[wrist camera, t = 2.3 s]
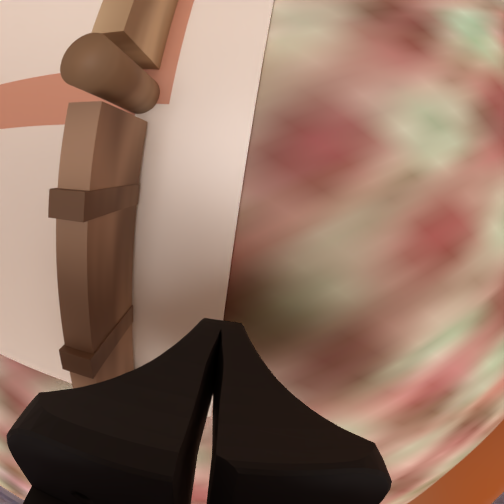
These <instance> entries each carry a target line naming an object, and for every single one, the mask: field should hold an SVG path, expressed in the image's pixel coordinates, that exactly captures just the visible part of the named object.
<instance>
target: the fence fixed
mask: <svg viewBox="0 0 504 504" xmlns="http://www.w3.org/2000/svg"><path fill="white" fill-rule="evenodd" d="M177 4H178V0H103V2H102V4H101V7H100V10H99V12H98V15H97V18H96V21H95V23H94V26H93V29H92V32H91V33H89V34H86V35H83V36H81V37H80V38H78V39H77V40H75V41H74V42H73V43H72V44H71V45H70V46H69V48H68V49H67V50H66V52H65V54H64V56H63V58H62V61H61V65H60V73H61V77H62V79H63V80H64V81H65V82H66V83H67V84H69V85H71V86H74V87H76V88H78V89H81V90H83V91H85V92H88V93H90V94H92V95H94V96H97V97H99V98H101V99H103V100H106V101H108V102H110V103H112V104H114V105H117V106H119V107H121V108H123V109H125V110H127V111H129V112H132V113H135V114H142V113H145V112H148V111H149V110H151V109H152V108H153V107H154V106H155V105H156V103H157V101H158V99H159V95H160V89H159V85H158V84H157V82H156V81H155V80H154V79H153V78H152V77H151V76H150V75H148V74H147V73H146V72H145V71H144V70H143V69H160V66H161V62H162V57H163V53H164V49H165V45H166V42H167V38H168V34H169V31H170V27H171V23H172V20H173V17H174V13H175V10H176V7H177Z"/></svg>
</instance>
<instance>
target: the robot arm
mask: <svg viewBox="0 0 504 504" xmlns="http://www.w3.org/2000/svg"><path fill="white" fill-rule="evenodd" d="M212 396H213V446H212V460H211V469H210V478H209V487H208V497H207V504H379V503H380V502H381V501H382V500H383V499H384V497H385V496H386V494H387V493H388V492H389V490H390V487H391V482H392V481H391V478H390V476H389V473H388V471H387V468H386V465H385V463H384V460H383V458H382V456H381V454H380V452H379V450H378V449H377V447H376V445H375V443H373V442H371V441H369V440H366V439H364V438H362V437H360V436H357V435H355V434H353V433H351V432H349V431H347V430H344V429H342V428H341V427H339V426H337V425H335V424H333V423H332V422H330V421H328V420H327V419H325V418H323V417H322V416H320V415H319V414H317V413H316V412H314V411H313V410H311V409H310V408H309V407H307V406H306V405H305V404H304V403H302V402H301V401H300V400H299V399H297V398H296V397H295V396H294V395H293V394H292V393H290V392H289V391H288V390H287V389H286V388H285V387H284V386H283V385H282V384H281V383H280V382H279V381H278V380H277V379H276V377H275V376H274V375H273V374H272V373H271V371H270V370H269V369H268V367H267V366H266V365H265V363H264V362H263V361H262V359H261V358H260V356H259V354H258V353H257V351H256V350H255V348H254V346H253V345H252V343H251V341H250V339H249V337H248V335H247V333H246V331H245V328H244V326H243V325H242V323H236V322H229V321H222V320H215V319H209V318H203V319H202V320H201V321H200V322H199V323H198V324H197V325H196V326H195V327H194V328H193V329H192V330H191V331H190V332H189V333H188V334H187V335H185V336H184V337H183V338H182V339H181V340H180V341H178V342H177V343H176V344H175V345H173V346H172V347H171V348H169V349H168V350H167V351H165V352H164V353H162V354H161V355H160V356H158V357H157V358H155V359H153V360H152V361H150V362H148V363H146V364H145V365H143V366H141V367H139V368H137V369H134V370H132V371H130V372H127V373H125V374H122V375H120V376H117V377H115V378H112V379H109V380H106V381H102V382H99V383H96V384H92V385H88V386H83V387H79V388H73V389H66V390H59V391H52V392H41V393H39V394H38V395H37V396H36V397H35V398H34V399H33V400H32V401H31V403H30V404H29V405H28V406H27V407H26V409H25V410H24V411H23V413H22V414H21V415H20V417H19V418H18V419H17V421H16V422H15V423H14V425H13V426H12V428H11V429H10V430H9V432H8V434H7V444H8V447H9V449H10V451H11V453H12V456H13V457H14V459H15V461H16V462H17V464H18V465H19V467H20V469H21V470H22V472H23V473H24V475H25V476H26V478H27V479H28V480H29V482H30V483H31V485H32V487H31V489H30V491H29V493H28V495H27V497H26V498H25V500H22V499H21V498H19V497H17V496H16V495H14V494H12V493H11V492H9V491H7V490H6V489H4V488H3V487H1V486H0V504H191V497H192V490H193V482H194V475H195V468H196V461H197V454H198V450H199V445H200V441H201V437H202V433H203V430H204V426H205V422H206V419H207V415H208V411H209V407H210V404H211V400H212ZM492 504H504V492H503V493H502V494H501V495H500V496H499V497H498V498H497V499H496V500H495V501H494V502H493V503H492Z"/></svg>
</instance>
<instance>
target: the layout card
mask: <svg viewBox="0 0 504 504" xmlns="http://www.w3.org/2000/svg"><path fill="white" fill-rule="evenodd" d="M102 2H103V0H0V354H1V355H3V356H6V357H8V358H10V359H12V360H14V361H16V362H19V363H21V364H23V365H25V366H28V367H30V368H33V369H35V370H37V371H40V372H42V373H45V374H47V375H50V376H53V377H55V378H58V379H61V380H63V381H66V382H69V383H72V381H71V376H70V371H67V370H64V369H62V364H61V359H60V354H59V349H60V348H61V347H62V346H63V345H64V337H63V330H62V323H61V315H60V305H59V295H58V282H57V264H56V219H55V218H48V206H49V189H52V188H57V187H58V175H59V164H60V155H61V147H62V140H63V133H64V126H65V120H66V115H67V109H68V104H69V103H72V102H92V101H103V102H105V103H107V104H110V105H112V106H114V107H116V108H119V109H121V110H123V111H125V112H127V113H130V114H132V115H134V116H136V117H138V118H140V119H143V120H145V121H147V128H146V134H145V141H144V147H143V154H142V161H141V169H140V177H139V184H140V189H139V199H138V204H137V206H136V218H135V231H134V248H133V272H132V305H133V323H132V338H133V362H134V369H137V368H139V367H141V366H143V365H145V364H146V363H148V362H150V361H152V360H153V359H155V358H157V357H158V356H160V355H161V354H162V353H164V352H165V351H167V350H168V349H169V348H171V347H172V346H173V345H175V344H176V343H177V342H178V341H180V340H181V339H182V338H183V337H184V336H185V335H187V334H188V333H189V332H190V331H191V330H192V329H193V328H194V327H195V326H196V325H197V324H198V323H199V322H200V321H201V320H202V319H203V318H209V319H215V320H222V321H223V318H224V310H225V303H226V295H227V288H228V281H229V274H230V267H231V260H232V253H233V246H234V239H235V232H236V225H237V218H238V212H239V205H240V198H241V192H242V185H243V179H244V172H245V166H246V159H247V153H248V147H249V141H250V134H251V128H252V122H253V116H254V110H255V104H256V98H257V92H258V86H259V81H260V75H261V69H262V63H263V58H264V52H265V46H266V41H267V35H268V30H269V24H270V19H271V13H272V8H273V3H274V0H178V4H177V7H176V10H175V13H174V17H173V20H172V23H171V27H170V31H169V34H168V38H167V42H166V45H165V49H164V53H163V57H162V62H161V66H160V69H143V70H144V71H145V72H146V73H147V74H148V75H150V76H151V77H152V78H153V79H154V80H155V81H156V82H157V84H158V85H159V89H160V95H159V99H158V101H157V103H156V105H155V106H154V107H153V108H152V109H151V110H149V111H148V112H145V113H142V114H135V113H132V112H129V111H127V110H125V109H123V108H121V107H119V106H117V105H114V104H112V103H110V102H108V101H106V100H103V99H101V98H99V97H97V96H94V95H92V94H90V93H88V92H85V91H83V90H81V89H78V88H76V87H74V86H71V85H69V84H67V83H66V82H65V81H64V80H63V79H62V77H61V73H60V65H61V61H62V58H63V56H64V54H65V52H66V50H67V49H68V48H69V46H70V45H71V44H72V43H73V42H74V41H75V40H77V39H78V38H80V37H81V36H83V35H86V34H89V33H91V32H92V29H93V26H94V23H95V21H96V18H97V15H98V12H99V10H100V7H101V4H102ZM212 405H213V396H212V400H211V404H210V407H209V411H208V415H207V417H211V414H212Z"/></svg>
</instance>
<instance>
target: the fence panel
mask: <svg viewBox="0 0 504 504" xmlns="http://www.w3.org/2000/svg"><path fill="white" fill-rule="evenodd" d="M146 128H147V121H145V120H143V119H140V118H138V117H136V116H134V115H132V114H130V113H127V112H125V111H123V110H121V109H119V108H116V107H114V106H112V105H110V104H107V103H105V102H103V101H92V102H72V103H69V104H68V109H67V115H66V120H65V126H64V133H63V140H62V147H61V155H60V164H59V175H58V187H57V188H52V189H49V206H48V218H55V219H56V264H57V282H58V295H59V305H60V315H61V323H62V330H63V337H64V345H63V346H62V347H61V348H60V349H59V354H60V359H61V364H62V369H64V370H67V371H70V376H71V381H72V385H73V388H79V387H83V386H88V385H92V384H96V383H99V382H102V381H106V380H109V379H112V378H115V377H117V376H120V375H122V374H125V373H127V372H130V371H132V370H134V362H133V338H132V323H133V305H132V272H133V248H134V231H135V218H136V206H137V204H138V199H139V189H140V184H139V177H140V169H141V161H142V154H143V147H144V141H145V134H146Z"/></svg>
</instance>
